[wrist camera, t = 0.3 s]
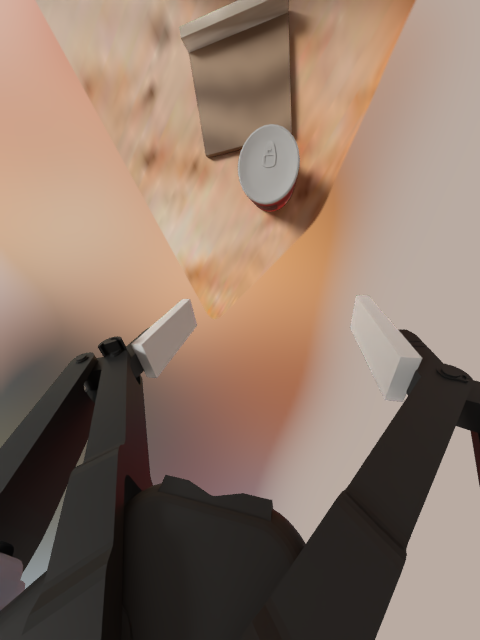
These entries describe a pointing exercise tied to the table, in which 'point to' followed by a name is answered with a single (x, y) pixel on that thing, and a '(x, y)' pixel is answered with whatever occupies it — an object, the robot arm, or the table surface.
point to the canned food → (269, 167)
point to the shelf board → (240, 71)
